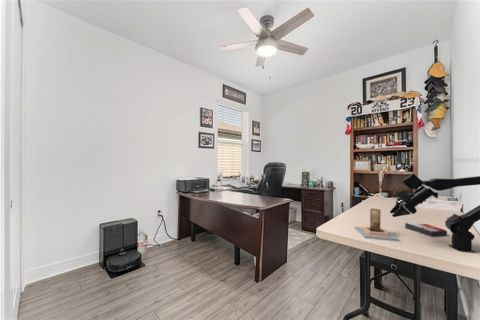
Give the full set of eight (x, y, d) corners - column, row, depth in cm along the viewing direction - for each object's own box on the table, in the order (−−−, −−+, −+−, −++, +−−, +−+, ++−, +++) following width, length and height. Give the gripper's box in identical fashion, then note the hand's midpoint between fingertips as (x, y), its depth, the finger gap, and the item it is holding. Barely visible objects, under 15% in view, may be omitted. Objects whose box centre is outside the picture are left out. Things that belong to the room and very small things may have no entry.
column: (382, 233, 109) (382, 210, 110) (376, 234, 108) (376, 210, 108) (374, 230, 114) (374, 208, 114) (367, 231, 112) (368, 208, 113)
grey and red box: (432, 230, 109) (405, 221, 124) (431, 238, 109) (404, 228, 124) (447, 230, 111) (419, 220, 126) (447, 237, 111) (418, 227, 126)
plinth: (399, 241, 101) (399, 236, 101) (364, 237, 105) (364, 233, 105) (384, 231, 117) (384, 226, 117) (354, 228, 121) (354, 224, 121)
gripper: (401, 183, 113) (377, 200, 118) (408, 186, 97) (380, 205, 102) (419, 198, 108) (394, 215, 114) (429, 204, 93) (399, 223, 98)
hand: (391, 214), depth 107 cm, fingers open, 9 cm apart
